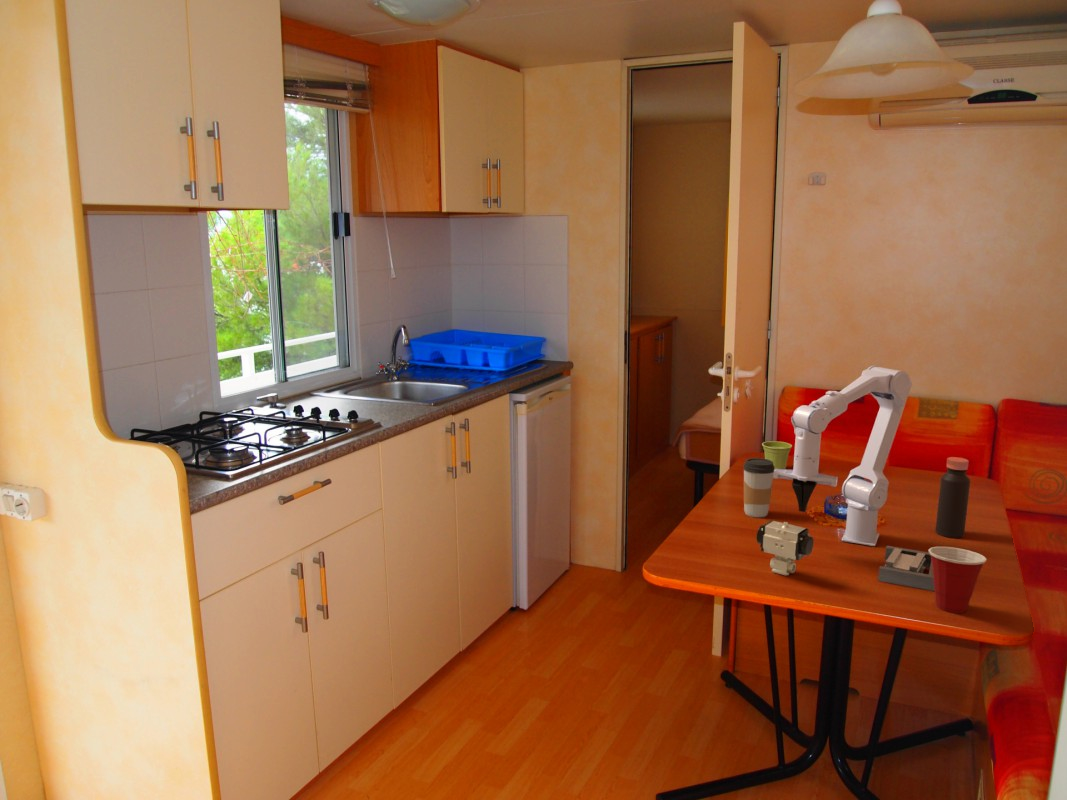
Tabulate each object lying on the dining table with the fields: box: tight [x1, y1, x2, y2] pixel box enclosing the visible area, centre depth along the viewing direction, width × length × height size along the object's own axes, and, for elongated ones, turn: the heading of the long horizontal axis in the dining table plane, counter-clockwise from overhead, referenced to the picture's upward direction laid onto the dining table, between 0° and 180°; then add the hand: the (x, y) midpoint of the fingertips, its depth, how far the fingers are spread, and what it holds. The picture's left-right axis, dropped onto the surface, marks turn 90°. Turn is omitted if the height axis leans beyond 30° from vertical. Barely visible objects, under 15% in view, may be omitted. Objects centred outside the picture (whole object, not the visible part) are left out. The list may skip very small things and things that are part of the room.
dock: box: [877, 545, 935, 592], centre depth 194 cm, size 16×12×3 cm
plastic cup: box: [927, 546, 987, 614], centre depth 176 cm, size 11×11×12 cm
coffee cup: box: [743, 457, 774, 518], centre depth 234 cm, size 8×8×15 cm
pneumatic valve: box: [756, 520, 814, 577], centre depth 193 cm, size 6×12×12 cm, turn 51°
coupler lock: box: [883, 547, 926, 574], centre depth 195 cm, size 10×7×4 cm
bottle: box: [934, 456, 971, 539], centre depth 219 cm, size 7×7×20 cm
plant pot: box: [761, 440, 793, 470], centre depth 278 cm, size 9×9×9 cm
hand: (802, 510), depth 206 cm, fingers closed
